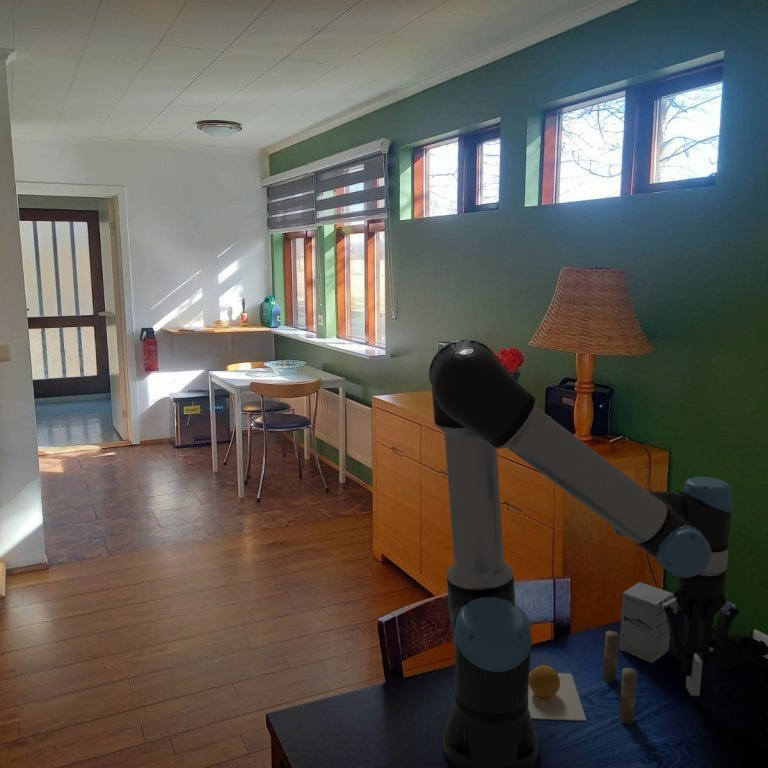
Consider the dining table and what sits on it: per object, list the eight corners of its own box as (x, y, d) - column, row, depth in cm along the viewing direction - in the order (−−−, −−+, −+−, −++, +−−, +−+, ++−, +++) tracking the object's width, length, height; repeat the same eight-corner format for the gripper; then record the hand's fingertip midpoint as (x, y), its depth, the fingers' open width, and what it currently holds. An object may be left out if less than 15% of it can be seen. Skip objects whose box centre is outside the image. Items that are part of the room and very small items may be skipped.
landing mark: (503, 718, 128) (503, 717, 128) (496, 672, 141) (496, 671, 141) (586, 721, 127) (586, 719, 127) (571, 674, 141) (571, 673, 140)
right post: (621, 723, 126) (624, 675, 124) (617, 715, 128) (620, 667, 127) (635, 724, 126) (638, 676, 124) (632, 715, 128) (635, 668, 127)
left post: (604, 681, 138) (607, 637, 137) (601, 674, 141) (604, 630, 139) (617, 682, 138) (620, 637, 136) (614, 674, 140) (617, 631, 139)
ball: (547, 670, 130) (568, 691, 131) (543, 653, 136) (563, 673, 136) (524, 689, 131) (545, 710, 132) (520, 671, 137) (541, 692, 137)
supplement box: (617, 650, 149) (621, 591, 147) (636, 637, 154) (640, 580, 152) (652, 665, 144) (656, 604, 141) (670, 651, 149) (674, 592, 146)
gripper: (732, 558, 131) (722, 680, 135) (657, 557, 132) (649, 677, 136) (750, 577, 124) (738, 705, 128) (670, 575, 124) (661, 702, 129)
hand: (692, 690), depth 132 cm, fingers closed
